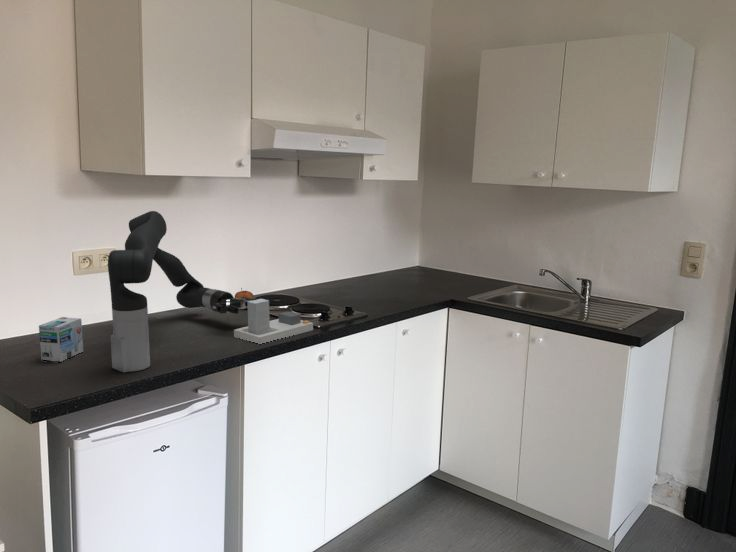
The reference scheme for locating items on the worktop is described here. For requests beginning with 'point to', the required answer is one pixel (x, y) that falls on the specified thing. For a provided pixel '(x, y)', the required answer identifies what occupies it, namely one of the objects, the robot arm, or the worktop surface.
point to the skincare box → (258, 317)
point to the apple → (243, 295)
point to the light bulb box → (61, 338)
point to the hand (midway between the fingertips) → (247, 308)
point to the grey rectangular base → (277, 328)
